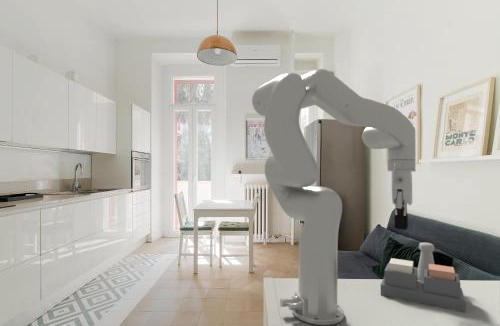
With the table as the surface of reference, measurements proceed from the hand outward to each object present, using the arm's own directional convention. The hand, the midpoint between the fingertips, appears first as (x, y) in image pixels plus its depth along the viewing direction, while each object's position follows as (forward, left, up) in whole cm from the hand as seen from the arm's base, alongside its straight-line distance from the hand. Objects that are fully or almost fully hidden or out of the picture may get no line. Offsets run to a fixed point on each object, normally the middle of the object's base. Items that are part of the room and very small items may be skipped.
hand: (401, 227), depth 89 cm
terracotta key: (+7, -7, -14) cm, 17 cm away
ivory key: (0, 0, -14) cm, 14 cm away
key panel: (+3, -4, -19) cm, 20 cm away
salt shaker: (+13, +4, -19) cm, 24 cm away
